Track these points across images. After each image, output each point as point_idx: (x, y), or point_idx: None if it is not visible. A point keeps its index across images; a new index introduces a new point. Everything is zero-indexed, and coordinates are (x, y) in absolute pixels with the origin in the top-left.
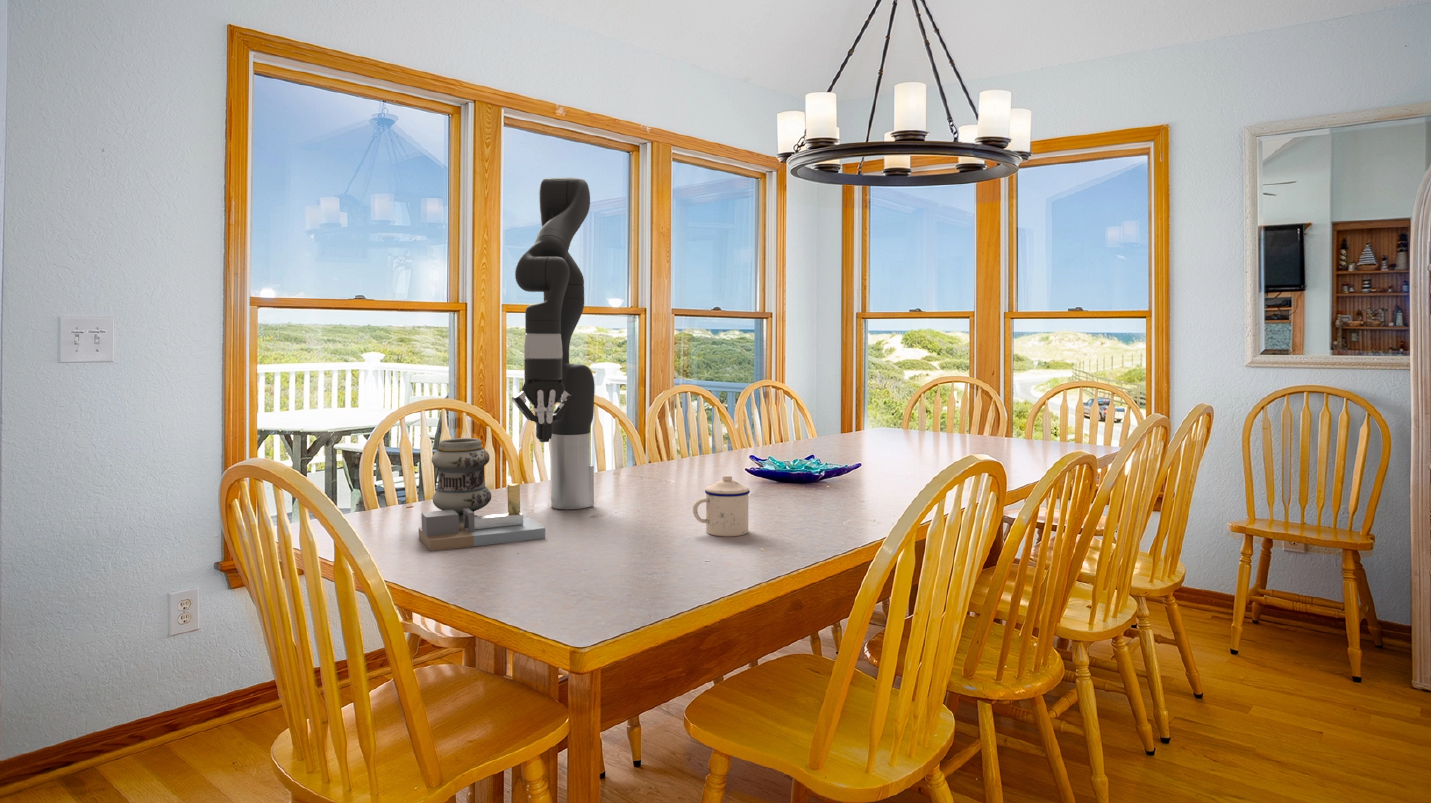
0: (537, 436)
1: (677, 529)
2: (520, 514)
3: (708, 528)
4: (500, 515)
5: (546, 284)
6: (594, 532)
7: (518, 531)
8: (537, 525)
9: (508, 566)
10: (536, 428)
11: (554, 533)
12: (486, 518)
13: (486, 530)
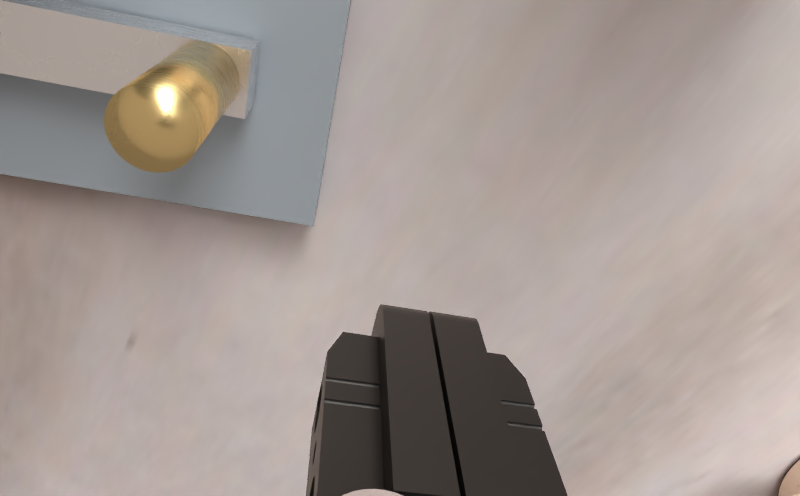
0: (318, 403)
1: (784, 373)
2: (231, 110)
3: (794, 488)
4: (120, 63)
5: None
6: (535, 239)
7: (185, 204)
8: (309, 156)
9: (53, 452)
10: (317, 456)
11: (394, 152)
12: (27, 77)
13: (44, 101)
